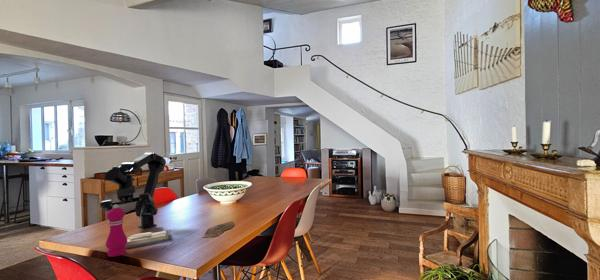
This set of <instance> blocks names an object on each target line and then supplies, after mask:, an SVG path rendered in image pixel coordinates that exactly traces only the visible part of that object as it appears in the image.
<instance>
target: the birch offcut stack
mask: <svg viewBox="0 0 600 280" xmlns="http://www.w3.org/2000/svg"><path fill="white" fill-rule="evenodd" d="M166 233H167V232H166V230H163V231H157V232H152V231H149V232H141V233H136V234H131V235H130V236H128V237H127V244H126V245H125V246H129V245H135V244H141V243H146V242H152V241H157V240H163V239H167V236H166Z"/></svg>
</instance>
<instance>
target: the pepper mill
mask: <svg viewBox="0 0 600 280" xmlns="http://www.w3.org/2000/svg"><path fill="white" fill-rule="evenodd" d="M113 208H114V209H111V210H110V211H108V212H106V213H107V214H106V218H107V220H108V225H109V234H108V236H107V237H106V241H105V247H106V248H107V249H108V250H107V256H108V257H110V258H115V257H118V256H121V254H122V255H124V254H126V253H125V252H127V248H126V247H125V245H126V244H127V238H128V237H127V235H126V233H125V231H124V227H123V223H124V217H125V210H124V209H123V208H121V207H119V205H117V204H115V205H113Z"/></svg>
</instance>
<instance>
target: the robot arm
mask: <svg viewBox="0 0 600 280" xmlns="http://www.w3.org/2000/svg"><path fill="white" fill-rule="evenodd" d="M166 164H167V161H166V159H165V158H164V157H163V156H161V155H159V154H157V153H155V152H154V151H153V152H152V151H151V152H145V153H144V154H142V155H141V156H139V157H137V158H135V159H134V160H129V161H124V162H122V163H121V164H120V165H119V166H112V168H111V169H109V170H108V171H107V172H106V173H105V174H104V175H105V177H104V178H105V179H106V180H107V181H108V182H110V183H113V184H114V185H117V186H118V189H117V190H116V197H117V200H114V201H113V200H112V199H107V200H101V202H100V203H99V206H100V207H99V208H101V210H102V211H103V212H106V213H108V211H110V210H111V209H114V208H113V205H115V204H117V205H118V206H122V205H127V204H131V203H135V206H134V211H135V215H136V217H138V218H140V225H138V226H137V228H139V229H143V230H144V229H145V230H146V229H150V228H153V227H156V226H157V224H156V223H155V222H154V219H155V218H154V216H156V215H157V214H158V208H157V207H156V206H155V203H156V202H155V200H154V195H155V192H156V191H155V190H156V187H157V184H158V180H159V175H160V173H161V172H162V171H163V170H164V169H165V166H166ZM145 165H147V168H148V170H149V173H148V176H147V179H146V184H145V186H144V190H143V192H142V193H141V194H139V196H137V197H135V195H134V194H135V193H136V185H135V184H134V181H136V180H135V178H134V177H133V175H137V174H138V173H139V172H140V171H141V168H142V167H143V166H145Z"/></svg>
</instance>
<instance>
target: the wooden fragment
mask: <svg viewBox="0 0 600 280" xmlns="http://www.w3.org/2000/svg"><path fill="white" fill-rule="evenodd" d="M235 226H236V225H235V223H234V221H233V220H231V221H227V222H224V223H220V224H217V225H214V226H212V227H209V228H207V230H206V231H205V233H204V235H203V236H202V238H203V239H209V238H210V237H211V238H215V237H220V235H221V234H223V233H224V232H225V231H229V230H232V229H233V227H235Z"/></svg>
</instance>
